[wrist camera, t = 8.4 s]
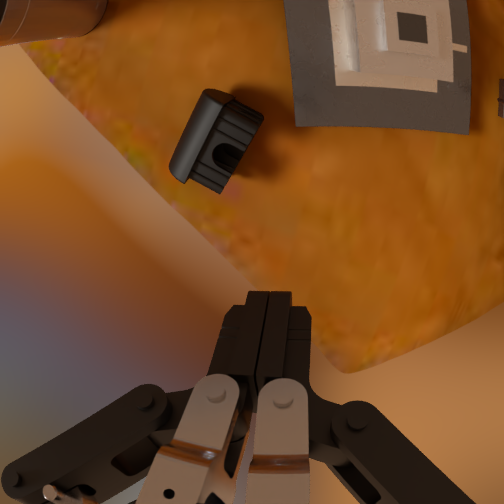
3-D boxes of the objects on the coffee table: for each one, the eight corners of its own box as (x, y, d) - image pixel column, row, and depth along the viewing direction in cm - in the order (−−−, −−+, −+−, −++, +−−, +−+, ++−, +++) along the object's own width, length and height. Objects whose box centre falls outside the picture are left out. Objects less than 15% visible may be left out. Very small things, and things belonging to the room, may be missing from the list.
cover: (349, 69, 27) (363, 73, 20) (342, -6, 23) (354, -26, 16) (426, 76, 26) (460, 84, 19) (421, 3, 21) (454, -10, 14)
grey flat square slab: (296, 123, 33) (295, 126, 32) (278, -44, 22) (276, -48, 21) (463, 131, 29) (468, 135, 28) (456, -27, 18) (461, -30, 17)
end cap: (214, 84, 33) (196, 90, 28) (267, 112, 35) (260, 124, 29) (180, 153, 39) (159, 172, 34) (229, 179, 40) (215, 202, 35)
